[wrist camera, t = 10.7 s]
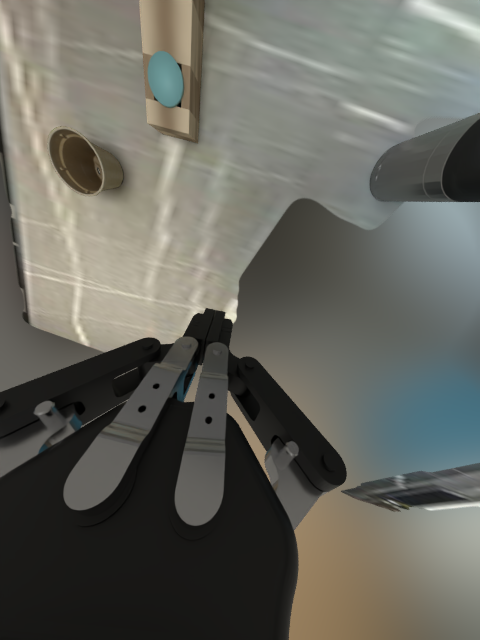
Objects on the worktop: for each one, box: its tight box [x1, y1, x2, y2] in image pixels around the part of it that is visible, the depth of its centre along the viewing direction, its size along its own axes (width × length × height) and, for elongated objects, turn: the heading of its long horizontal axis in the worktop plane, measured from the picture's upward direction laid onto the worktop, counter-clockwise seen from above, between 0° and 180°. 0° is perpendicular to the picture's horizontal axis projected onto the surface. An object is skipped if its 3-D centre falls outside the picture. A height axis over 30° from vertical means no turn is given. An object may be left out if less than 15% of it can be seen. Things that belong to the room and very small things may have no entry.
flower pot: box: [47, 126, 123, 196], centre depth 35 cm, size 9×9×9 cm
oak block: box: [139, 0, 205, 143], centre depth 27 cm, size 7×20×6 cm, turn 169°
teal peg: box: [148, 51, 184, 108], centre depth 29 cm, size 5×5×7 cm
